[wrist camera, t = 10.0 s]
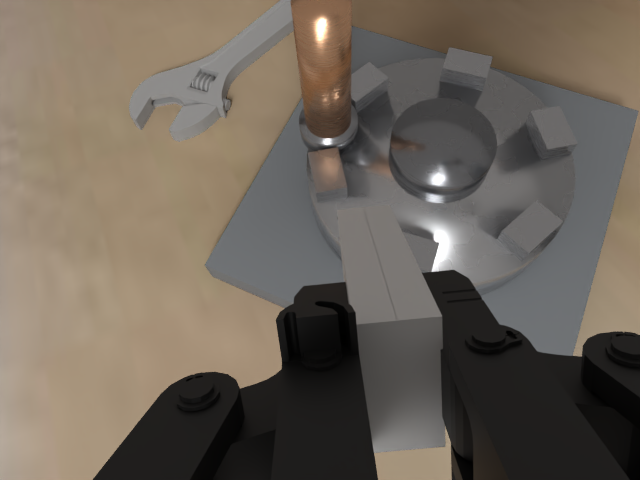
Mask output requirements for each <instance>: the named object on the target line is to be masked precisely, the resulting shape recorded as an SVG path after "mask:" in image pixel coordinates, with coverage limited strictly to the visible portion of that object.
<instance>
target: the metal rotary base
mask: <svg viewBox="0 0 640 480" xmlns="http://www.w3.org/2000/svg"><path fill="white" fill-rule="evenodd" d="M290 3H291V10H292V18H293V26H294V34H295V42H296V50H297V58H298V66H299V74H300V82H301V90H302V98H303V106H304V108H303V109H302V111H301V113H300V116H299V126H300V133H301V138H302V141H303V143H304V144H305V146H306V147H307V148H308V152H307V176H308V184H309V191H310V198H311V205H312V210H313V213H314V217H315V221H316V223H317V225H318V227H319V230H320V232H321V234H322V236H323V237H324V239H325V241H326V242H327V244H328V245H329V247H330V248H331V250H332V251H333V252H334V253H335V254H336V256H337V257H338V258H339V259H340V260H341V261H342V257H341V246H340V236H339V225H338V215H337V210H341V209H351V208H361V207H370V206H380V205H390V207H391V209H392V211H393V213H394V215H395V217H396V219H397V222H398V224H399V226H400V228H401V230H402V232H403V234H404V236H405V239H406V241H407V243H408V245H409V247H410V249H411V251H412V253H413V255H414V258H415V260H416V262H417V264H418V266H419V268H420V270H421V272H422V273H425V272H435V271H445V270H455V271H457V272H459V273H461V274H462V275H464V276H466V277H468V278H469V279H470V281H471V282H472V284H473V285H474V287H475V288H476V291H478V293H479V294H480V295H483V294H486V293H489V292H491V291H493V290H496V289H498V288H500V287H502V286H504V285H506V284H507V283H509V282H511V281H512V280H514V279H515V278H517V277H518V276H519V275H520V274H522V273H523V272H524V271H525V270H527V268H528V267H529V266H530V265H531V264H532V263H533V262H534V261H535V260H536V259H537V258H538V256H539V255H540V254H541V253H542V252H543V251H544V249H545V248H546V247H547V246H548V245H549V244H550V242H551V241H552V240H553V239H554V238H555V236H556V235H557V233H558V232H559V230H560V229H561V227H562V226H563V224H564V222H565V220H566V218H567V215H568V213H569V211H570V208H571V204H572V201H573V197H574V191H575V181H576V178H575V164H574V159H573V155H572V152H573V150H574V149H575V147H576V146H577V144H578V143H577V141H576V139H575V137H574V135H573V132H572V130H571V128H570V126H569V124H568V122H567V120H566V118H565V116H564V113H563V111H562V109H561V107H560V106H556V107H550V108H547V107H546V106H545V105H544V103H543V102H542V101H541V100H540V99H539V98H538V97H536V96H535V95H534V94H533V93H532V92H530V91H529V90H528V89H527V88H525V87H524V86H522V85H521V84H519V83H518V82H516V81H515V80H513V79H511V78H509V77H507V76H505V75H503V74H502V73H500V72H497V71H495V70H492V69H490V65H491V61H492V58H493V57H492V56H487V55H483V54H478V53H474V52H469V51H465V50H460V49H455V48H451V47H449V50H448V53H447V56H446V59H442V58H422V59H413V60H406V61H401V62H397V63H393V64H389V65H386V66H383V67H381V68H378V69H377V68H376V67H375V66H374V65H373V64H371V63H370V62H368V63H367V64H365V65H364V66H363V67H361V68H360V69H358V70H357V71H356V72H354V73H353V74H351V40H352V0H291V2H290Z"/></svg>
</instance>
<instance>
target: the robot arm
mask: <svg viewBox="0 0 640 480" xmlns="http://www.w3.org/2000/svg"><path fill="white" fill-rule="evenodd" d="M337 215H338V225H339V236H340V246H341V257H342V267H343V277H344V282H339V283H329V284H319V285H308V286H303V287H302V288H301V289H300V291H299V292H298V293H297V294H296V295H295V296H294V304H292V305H289V306H288V307H286V308H285V309H284V310H282V311H281V312H280V313H279V315H278V317H277V319H276V323H277V330H278V337H279V343H280V350H281V357H282V370H280V371H279V372H278V373H277V374H276V375H274V376H272V377H271V378H269V379H267V380H265V381H262V382H260V383H257V384H254V385H251V386H248V387H244V388H241V389H240V388H239V386H238V383H237V381H236V380H235V379H234V378H232V377H231V376H229V375H228V374H223V373H218V372H206V373H197V374H195V375H190V376H187V377H185V378H183V379H181V380H179V381H177V382H175V383H173V384H171V385H170V386H169V387H168V388H167V389H166V390H165V391H164V392H163V393H161V395H160V396H159V397H158V398H157V400H156V401H155V402H154V403H153V405H152V406H151V407H150V408H149V410H148V411H147V412H146V413H145V415H144V416H143V417H142V418H141V420H140V421H139V422H138V423H137V425H136V426H135V427H134V428H133V430H132V431H131V432H130V433H129V435H128V436H127V437H126V438H125V440H124V441H123V442H122V443H121V445H120V446H119V447H118V449H117V450H116V451H115V452H114V454H113V455H112V456H111V457H110V459H109V460H108V461H107V462H106V464H105V465H104V466H103V467H102V469H101V470H100V471H99V472H98V474H97V475H96V476H95V477H94V479H93V480H378V477H377V470H376V463H375V457H374V453H378V452H389V451H400V450H411V449H423V448H434V447H445V426H446V429H447V432H448V435H449V438H450V441H451V465H452V480H640V335H637V334H635V333H631V332H625V333H623V332H609V333H600V334H597V335H595V336H592V337H590V338H588V339H587V341H586V342H585V343H584V345H583V352H582V357H578V356H567V355H556V354H549V353H543V352H538V351H536V349H535V348H534V346H533V345H532V344H531V342H530V341H529V340H528V338H527V337H525V336H524V335H523V334H522V333H521V332H520V331H518V330H515V329H513V328H511V327H508V326H505V325H500V324H499V323H498V321H497V320H496V318H495V317H494V315H493V314H492V312H491V311H490V309H489V308H488V306H487V305H486V303H485V302H484V300H482V297H481V296H480V294H479V293H478V291H476V288H475V287H474V285H473V284H472V282H471V281H470V279H469V278H468V277H466V276H464V275H462V274H461V273H459V272H457V271H455V270H445V271H435V272H425V273H422V272H421V270H420V268H419V266H418V264H417V262H416V260H415V258H414V255H413V253H412V251H411V249H410V247H409V245H408V243H407V241H406V239H405V236H404V234H403V232H402V230H401V228H400V226H399V224H398V222H397V219H396V217H395V215H394V213H393V211H392V209H391V207H390V205H380V206H370V207H361V208H351V209H341V210H337Z"/></svg>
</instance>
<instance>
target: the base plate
mask: <svg viewBox="0 0 640 480" xmlns="http://www.w3.org/2000/svg"><path fill="white" fill-rule="evenodd" d="M446 56H447V54H445V53H442V52H438V51H435V50H431V49H428V48H425V47H421V46H418V45H415V44H411V43H408V42H404V41H401V40H398V39H394V38H391V37H388V36H384V35H381V34H378V33H374V32H371V31H367V30H364V29H361V28H357V27H354V26H352V40H351V74H353V73H354V72H356V71H357V70H358V69H360V68H361V67H363V66H364V65H365V64H367V63H368V62H370V63H371V64H373V65H374V66H375V67H376V68H377V69H378V68H381V67H383V66H386V65H389V64H393V63H397V62H401V61H406V60H413V59H422V58H442V59H446ZM490 69H492V70H495V71H497V72H500V73H502V74H503V75H505V76H507V77H509V78H511V79H513V80H515V81H516V82H518V83H519V84H521V85H522V86H524V87H525V88H527V89H528V90H529V91H530V92H532V93H533V94H534V95H535V96H536V97H538V98H539V99H540V100H541V101H542V102H543V103H544V105H545V106H546V107H547V108H550V107H556V106H560V107H561V109H562V111H563V113H564V116H565V118H566V120H567V122H568V124H569V126H570V128H571V130H572V132H573V135H574V137H575V139H576V141H577V143H578V144H577V146H576V147H575V149H574V150H573V152H572V155H573V159H574V164H575V178H576V181H575V191H574V197H573V201H572V204H571V208H570V211H569V213H568V215H567V218H566V220H565V222H564V224H563V226H562V227H561V229H560V230H559V232H558V233H557V235H556V236H555V238H554V239H553V240H552V241H551V242H550V244H549V245H548V246H547V247H546V248H545V249H544V251H543V252H542V253H541V254H540V255H539V256H538V258H537V259H536V260H535V261H534V262H533V263H532V264H531V265H530V266H529V267H528V268H527V270H525V271H524V272H523V273H522V274H520V275H519V276H518V277H517V278H515V279H514V280H512V281H511V282H509V283H507V284H506V285H504V286H502V287H500V288H498V289H496V290H493V291H491V292H489V293H486V294H483V295H480V296H481V297H482V300H484V302H485V303H486V305H487V306H488V308H489V309H490V311H491V312H492V314H493V315H494V317H495V318H496V320H497V321H498V323H499V324H500V325H505V326H508V327H511V328H513V329H515V330H518V331H520V332H521V333H522V334H523V335H524V336H525V337H527V338H528V340H529V341H530V342H531V344H532V345H533V346H534V348H535V349H536V351H538V352H543V353H549V354H556V355H567V356H573V352H574V348H575V344H576V341H577V337H578V333H579V330H580V326H581V322H582V319H583V315H584V311H585V307H586V304H587V300H588V296H589V293H590V289H591V285H592V281H593V278H594V274H595V270H596V267H597V263H598V259H599V256H600V252H601V248H602V244H603V241H604V237H605V233H606V230H607V226H608V222H609V219H610V215H611V211H612V207H613V204H614V200H615V196H616V193H617V189H618V185H619V181H620V178H621V174H622V170H623V167H624V163H625V159H626V156H627V152H628V148H629V144H630V141H631V137H632V133H633V130H634V126H635V122H636V118H637V115H638V111H637V110H634V109H630V108H627V107H623V106H620V105H617V104H613V103H610V102H607V101H603V100H600V99H597V98H593V97H590V96H586V95H583V94H580V93H576V92H573V91H570V90H566V89H563V88H559V87H556V86H553V85H549V84H546V83H543V82H539V81H536V80H533V79H529V78H526V77H522V76H519V75H516V74H512V73H509V72H506V71H502V70H499V69H495V68H492V67H490ZM303 108H304V106H303V98H301V100H300V102H299V104H298V105H297V107H296V109H295V111H294V112H293V114H292V116H291V117H290V119H289V121H288V123H287V124H286V126H285V128H284V129H283V131H282V133H281V135H280V136H279V138H278V140H277V142H276V143H275V145H274V147H273V148H272V150H271V152H270V154H269V155H268V157H267V159H266V160H265V162H264V164H263V166H262V167H261V169H260V171H259V173H258V174H257V176H256V178H255V179H254V181H253V183H252V185H251V186H250V188H249V190H248V191H247V193H246V195H245V197H244V198H243V200H242V202H241V204H240V205H239V207H238V209H237V210H236V212H235V214H234V216H233V217H232V219H231V221H230V222H229V224H228V226H227V228H226V229H225V231H224V233H223V234H222V236H221V238H220V240H219V241H218V243H217V245H216V247H215V248H214V250H213V252H212V253H211V255H210V257H209V259H208V260H207V262H206V264H205V266H206V268H207V269H208V271H209V272H210V274H211V275H212V276H213V277H215V278H217V279H220V280H222V281H224V282H226V283H229V284H231V285H233V286H236V287H238V288H240V289H242V290H245V291H247V292H249V293H252V294H254V295H256V296H259V297H261V298H263V299H265V300H268V301H270V302H272V303H275V304H277V305H279V306H281V307H284V308H286V307H288V306H289V305H292V304H294V296H295V295H296V294H297V293H298V292H299V291H300V289H301V288H302V287H303V286H308V285H319V284H329V283H339V282H344V277H343V267H342V261H341V260H340V259H339V258H338V257H337V256H336V254H335V253H334V252H333V251H332V250H331V248H330V247H329V245H328V244H327V242H326V241H325V239H324V237H323V236H322V234H321V232H320V230H319V227H318V225H317V223H316V221H315V217H314V213H313V210H312V205H311V198H310V191H309V184H308V176H307V152H308V148H307V147H306V146H305V144H304V143H303V141H302V138H301V133H300V126H299V116H300V113H301V111H302V109H303Z"/></svg>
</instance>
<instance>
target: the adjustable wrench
mask: <svg viewBox="0 0 640 480" xmlns="http://www.w3.org/2000/svg"><path fill="white" fill-rule="evenodd" d="M290 2H291V0H280V1H279V2H278V3H277V4H275V5H274V6H273V7H272V8H270V9H269V10H268V11H267V12H265V13H264V14H263V15H262V16H260V17H259V18H258V19H257V20H255V21H254V22H253V23H252V24H250V25H249V26H248V27H247V28H245V29H244V30H243V31H242V32H241V33H239V34H238V35H237V36H236V37H234V38H233V39H232V40H231V41H229V42H228V43H227V44H226V45H224V46H223V47H222V48H221V49H219V50H218V51H216V52H215V53H213V54H211V55H209V56H207V57H205V58H203V59H200V60H198V61H195V62H193V63H190V64H187V65H184V66H182V67H178V68H175V69H172V70H168V71H165V72H161V73H158V74H155V75H153V76H151V77H149V78H148V79H146V80H145V81H143V82H142V83H141V84H140V85H139V86H138V87H137V89H136V90H135V91H134V93H133V95H132V97H131V100H130V105H129V111H130V116H131V118H132V120H133V121H134V123H135V125H136V126H137V127H138V128H139V129H140V130H142V129H143V127H144V125H145V124H146V122H147V120H148V119H149V117H150V115H151V114H152V112H153V110H154V109H155V107H158V106H164V105H169V104H178V105H181V106H182V108H181V110H180V111H179V113H178V115H177V116H176V118H175V120H174V122H173V123H172V125H171V127H170V128H169V131H170V133H171V135H172V137H173V139H174V140H176V141H179V142H180V141H183V140H187V139H190V138H192V137H195V136H197V135H199V134H201V133H202V132H204V131H205V130H207V129H208V128H209V127H210V126H212V125H213V124H214V123H215V122H216V121H217V120H218V119H219V118H220V117H224V118H226V116H227V113H226V110H227V111H228V110H229V109H230V106H231V101H230V100H228V99H226V97H227V93H228V89H229V87H230V85H231V83H232V82H233V81H234V79H235V78H236V77H237V76H238V75H239V74H240V73H241V72H242V71H244V70H245V69H246V68H247V67H249V66H250V65H251V64H252V63H254V62H255V61H256V60H257V59H259V58H260V57H261V56H262V55H264V54H265V53H266V52H267V51H269V50H270V49H271V48H272V47H274V46H275V45H276V44H277V43H278V42H280V41H281V40H282V39H283V38H285V37H286V36H287V35H288V34H290V33H291V32H292V31H293V30H294V26H293V18H292V10H291V3H290Z"/></svg>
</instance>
